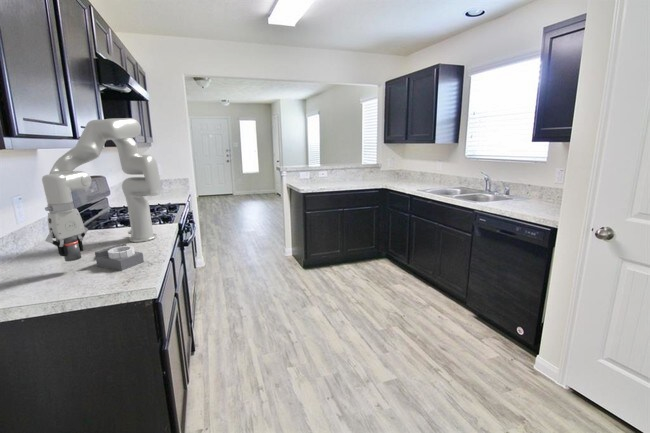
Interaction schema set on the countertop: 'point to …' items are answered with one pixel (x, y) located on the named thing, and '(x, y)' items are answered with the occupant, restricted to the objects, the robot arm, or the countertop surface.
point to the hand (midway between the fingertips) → (71, 252)
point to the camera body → (118, 257)
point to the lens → (72, 249)
